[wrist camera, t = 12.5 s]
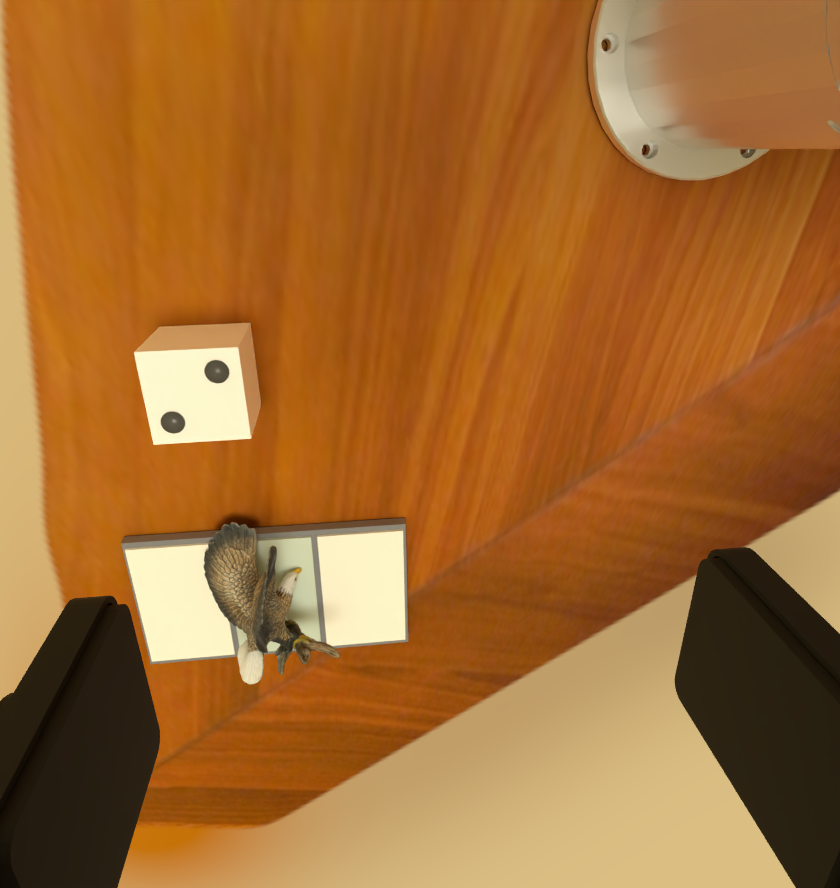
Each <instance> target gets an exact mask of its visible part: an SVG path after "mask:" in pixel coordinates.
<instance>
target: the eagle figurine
mask: <svg viewBox="0 0 840 888" xmlns="http://www.w3.org/2000/svg"><path fill="white" fill-rule="evenodd" d="M213 540H214V543H212V542H210V543H209V544H208V550H206V551H205V556H204V562H205V564H204V566H203V567H204V570H205V574H204V575H205V577H206V579H207V583H208V585H209V589H210V590H211V592H213V593H212V595H213V597H214V599H215V602H216V603H217V604H218V607H219V609H220V611H221V612H222V613H223V615H224V617H226V618H227V619H228V621H229V622H231V623H232V624H233V625H234V626H237V627H238V628H239V629H240V630H243V632H244V633H246V634H247V640H246V641H245V642H244V643H243V644H242V645H241V646H240V647H239V650H238V662H239V667H240V674H241V675H242V679H243V681H244V682H246V683H247V684H255V683H257V682H259V681H260V679H261V678H262V676H263V671H264V653H268V650H267V645H268V643H269V642H270V641H272V642H276V643H278V644H280V646H279V647H278V649H277V650H276V653H275V655H276V656H277V655H278V670H279V673H280V674H281V675H283V674H284V665H285V662H286V660H287V658H288V657H289V655H290V654H291V653H292V650H293V649H296V651H297V655H298V656H299V658H300V660H301V662H302V663H303V664H307V663H308V661H309V660H310V656H311V653H310V651H312V650H313V651H320V652H324V653H327V654H329V655H330V656H332V657H334V658H339V657H340V654H339V652H338V651H337V650H336V649H335V648H334V647H333V646H331V645H329V644H327V643H324V642H320V641H316V640H314V639H312V638H310V637H309V636H306V635H305V634H304V633H302V632H301V629H300V628H299V625H298V624H297V623H296V622H295V621H292V620H285V617H286V615H287V613H288V612H289V609H290V606H291V602H292V597H293V593H294V589H295V586H296V583H297V578H298V574H299V573H300V572H301V571H302V569H301V568H297V569H296V570H294V571H293V572H290V573H288V574H286V575H285V577H284V578H283V580H282V582H281V583H280V585H279V587H278V588H277V589H276V572H275V563H276V557H277V549H276V547H275V546H273V545H272V546H271V547H270V549H269V557H268V559H267V563H266V570H265V571H264V573H263V575H262V577H261V578H260V579H259V574H258V569H257V565H256V550H257V545H256V543H257V535H256V530H255V529H254V528H251V529H249V528H248V526H247V525H246V524H242V525H240V526H239V525H238V524H237V523H235V522H231V524H230V525H228V524H224V525H223V526H222V528H221V531H220V532H216V533H215V534H214V537H213Z"/></svg>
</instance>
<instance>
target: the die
mask: <svg viewBox="0 0 840 888" xmlns="http://www.w3.org/2000/svg"><path fill="white" fill-rule="evenodd" d="M134 355H135V360H136V365H137V369H138V374H139V379H140V383H141V388H142V393H143V397H144V402H145V406H146V411H147V416H148V420H149V425H150V430H151V434H152V439H153V444H154V445H156V444H172V443H188V442H205V441H221V440H237V439H251V437H252V434H253V431H254V428H255V424H256V421H257V418H258V414H259V411H260V408H261V399H260V391H259V383H258V376H257V368H256V361H255V353H254V345H253V338H252V330H251V323H232V324H210V325H187V326H164V327H159V328H158V329H157V330H156V331H155V332H154V333H153V334H152V335H151V336H150V337H149V338H148V339H147V340H146V341H145V342H144V343H143V344H142V345H141V346H140V347H139V348H138V349H137V350H136V351H135V352H134Z"/></svg>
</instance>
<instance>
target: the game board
mask: <svg viewBox="0 0 840 888" xmlns="http://www.w3.org/2000/svg"><path fill="white" fill-rule="evenodd" d="M249 529H251V528H249ZM254 529H255V530H256V535H257V543H256V545H257V550H256V565H257V569H258V574H259V579H260V578H261V577H262V575H263V573H264V571H265V570H266V563H267V559H268V557H269V549H270V547H271V546H272V545H273V546H275V547H276V549H277V557H276V563H275V572H276V589H277V588H278V587H279V585H280V583H281V582H282V580H283V578H284V577H285V575H286V574H288V573H290V572H293V571H294V570H296V569H297V568H301V569H302V571H301V572H300V573H299V574H298V578H297V583H296V586H295V589H294V593H293V597H292V602H291V606H290V609H289V612H288V613H287V615H286V617H285V620H292V621H295V622H296V623H297V624H298V625H299V628H300V629H301V632H302V633H304V634H305V635H306V636H309V637H310V638H312V639H314V640H316V641H320V642H324V643H327V644H329V645H331V646H333V647H334V648H342V647H354V646H365V645H377V644H388V643H400V642H408V613H407V563H406V523H405V518H392V519H377V520H362V521H347V522H332V523H317V524H303V525H288V526H273V527H258V528H254ZM220 531H221V530H214V531H199V532H184V533H169V534H154V535H140V536H125V537H124V539H123V541H122V543H121V545H122V549H123V553H124V557H125V561H126V565H127V569H128V573H129V577H130V582H131V586H132V590H133V594H134V598H135V602H136V606H137V610H138V614H139V618H140V622H141V626H142V630H143V635H144V639H145V643H146V647H147V651H148V655H149V659H150V663H151V664H159V663H170V662H182V661H193V660H205V659H216V658H228V657H238V650H239V647H240V646H241V645H242V644H243V643H244V642H245V641H246V640H247V634H246V633H244V632H243V630H240V629H239V628H238V627H237V626H234V625H233V624H232V623H231V622H229V621H228V619H227V618H226V617H224V615H223V613H222V612H221V611H220V609H219V607H218V604H217V603H216V602H215V599H214V597H213V595H212V593H213V592H211V590H210V589H209V585H208V583H207V579H206V577H205V575H204V574H205V570H204V567H203V566H204V564H205V562H204V556H205V551H206V550H208V544H209V543H210V542H212V543H214V540H213V537H214V534H215V533H216V532H220ZM279 646H280V644H278V643H276V642H272V641H270V642H269V643H268V645H267V650H268V653H264V654H274V653H276V650H277V649H278V647H279ZM292 652H296V649H293V650H292Z"/></svg>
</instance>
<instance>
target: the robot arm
mask: <svg viewBox="0 0 840 888" xmlns="http://www.w3.org/2000/svg"><path fill="white" fill-rule="evenodd" d="M603 40H605V41H606V42H607V43H608V47H607V50H606V51H603V49H602V44H601V43H602V41H603ZM588 81H589V86H590V91H591V96H592V101H593V105H594V108H595V110H596V113H597V115H598V118H599V120H600V123H601V125H602V128H603V129H604V131H605V132H606V134H607V135H608V137H609V138H610V140H611V142H612V143H613V145H614V146H615V147H616V148H617V149H618V150H619V151H620V152H621V153H622V154H623V155H624V156H625V157H626V158H627V159H628V160H629V161H630V162H632V163H634V164H635V165H637V166H638V167H640V168H642V169H643V170H645V171H646V172H649V173H652V174H655V175H658V176H661V177H664V178H669V179H677V180H707V179H711V178H715V177H720V176H724V175H727V174H729V173H732V172H734V171H736V170H738V169H741V168H743V167H745V166H747V165H749V164H750V163H752V162H753V161H755V160H756V159H758V158H759V157H761V156H762V155H764V154H765V153H767V152H768V151H769V150H770V149H840V0H598V2H597V6H596V9H595V13H594V16H593V20H592V23H591V29H590V37H589V45H588ZM643 145H645V146H646V149H647V150H646V153H645V154H644V155H642V148H643ZM740 149H742V151H741V153H740ZM675 687H676V692H677V695H678V697H679V699H680V701H681V703H682V704H683V706H684V708H685V709H686V711H687V712H688V714H689V716H690V717H691V719H692V721H693V722H694V724H695V725H696V727H697V729H698V730H699V732H700V733H701V735H702V737H703V738H704V740H705V742H706V743H707V745H708V746H709V748H710V750H711V751H712V753H713V755H714V756H715V758H716V759H717V761H718V762H719V764H720V766H721V767H722V769H723V770H724V772H725V774H726V775H727V777H728V779H729V780H730V782H731V783H732V785H733V787H734V788H735V790H736V792H737V793H738V795H739V797H740V798H741V800H742V801H743V803H744V805H745V806H746V808H747V809H748V811H749V813H750V814H751V816H752V818H753V819H754V821H755V822H756V824H757V826H758V827H759V829H760V830H761V832H762V834H763V835H764V837H765V839H766V840H767V842H768V843H769V845H770V847H771V848H772V850H773V851H774V853H775V855H776V856H777V858H778V860H779V861H780V863H781V864H782V866H783V868H784V869H785V871H786V872H787V874H788V876H789V877H790V879H791V881H792V882H793V884H794V885H795V887H796V888H840V634H839V633H838V632H837V631H836V630H835V629H834V628H833V627H832V626H831V625H830V624H829V623H828V622H827V621H826V620H825V619H824V618H823V617H822V616H821V615H820V614H819V613H817V612H816V611H815V610H814V609H813V608H812V607H811V606H810V605H809V604H808V603H807V602H806V601H805V600H804V599H803V598H802V597H801V596H800V595H799V594H798V593H797V592H796V591H795V590H794V589H793V588H792V587H791V586H790V585H789V584H787V582H785V581H784V580H783V579H782V578H781V577H780V576H779V575H778V574H777V573H776V572H775V571H774V570H773V569H772V568H771V567H770V566H769V565H768V564H767V563H766V562H765V561H764V560H763V559H762V558H761V557H760V556H759V555H758V554H757V553H756V552H754V551H753V550H752V549H750V548H746V547H742V548H729V549H716V550H713V551H711V552H710V554H709V555H708V558H707V559H704V560H702V561H701V562H700V564H699V567H698V572H697V577H696V581H695V586H694V591H693V595H692V600H691V605H690V609H689V614H688V619H687V623H686V628H685V633H684V637H683V642H682V647H681V651H680V656H679V661H678V665H677V670H676V675H675ZM159 743H160V730H159V725H158V721H157V717H156V713H155V709H154V705H153V701H152V697H151V693H150V689H149V685H148V681H147V677H146V673H145V669H144V665H143V661H142V657H141V653H140V649H139V645H138V641H137V637H136V633H135V629H134V625H133V622H132V618H131V614H130V610H129V608H128V606H127V605H125V604H120V605H118V604H117V601H116V599H115V598H114V597H113V596H100V597H87V598H74V599H72V600H70V601H69V602H68V603H67V605H66V606H65V608H64V610H63V611H62V613H61V615H60V616H59V618H58V620H57V621H56V623H55V625H54V626H53V628H52V630H51V631H50V633H49V635H48V637H47V638H46V640H45V642H44V643H43V645H42V646H41V648H40V650H39V652H38V653H37V655H36V656H35V658H34V660H33V661H32V663H31V665H30V666H29V668H28V670H27V671H26V673H25V675H24V677H23V678H22V680H21V681H20V683H19V685H18V686H17V688H16V690H15V691H14V693H10V694H9V695H7V696H6V697H4V698H3V699H2V700H1V701H0V888H117V887H118V883H119V880H120V877H121V874H122V870H123V867H124V864H125V860H126V857H127V854H128V850H129V847H130V844H131V840H132V837H133V834H134V830H135V827H136V824H137V820H138V817H139V814H140V810H141V807H142V804H143V801H144V797H145V794H146V791H147V787H148V784H149V781H150V777H151V774H152V771H153V767H154V764H155V761H156V757H157V754H158V750H159Z"/></svg>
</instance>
